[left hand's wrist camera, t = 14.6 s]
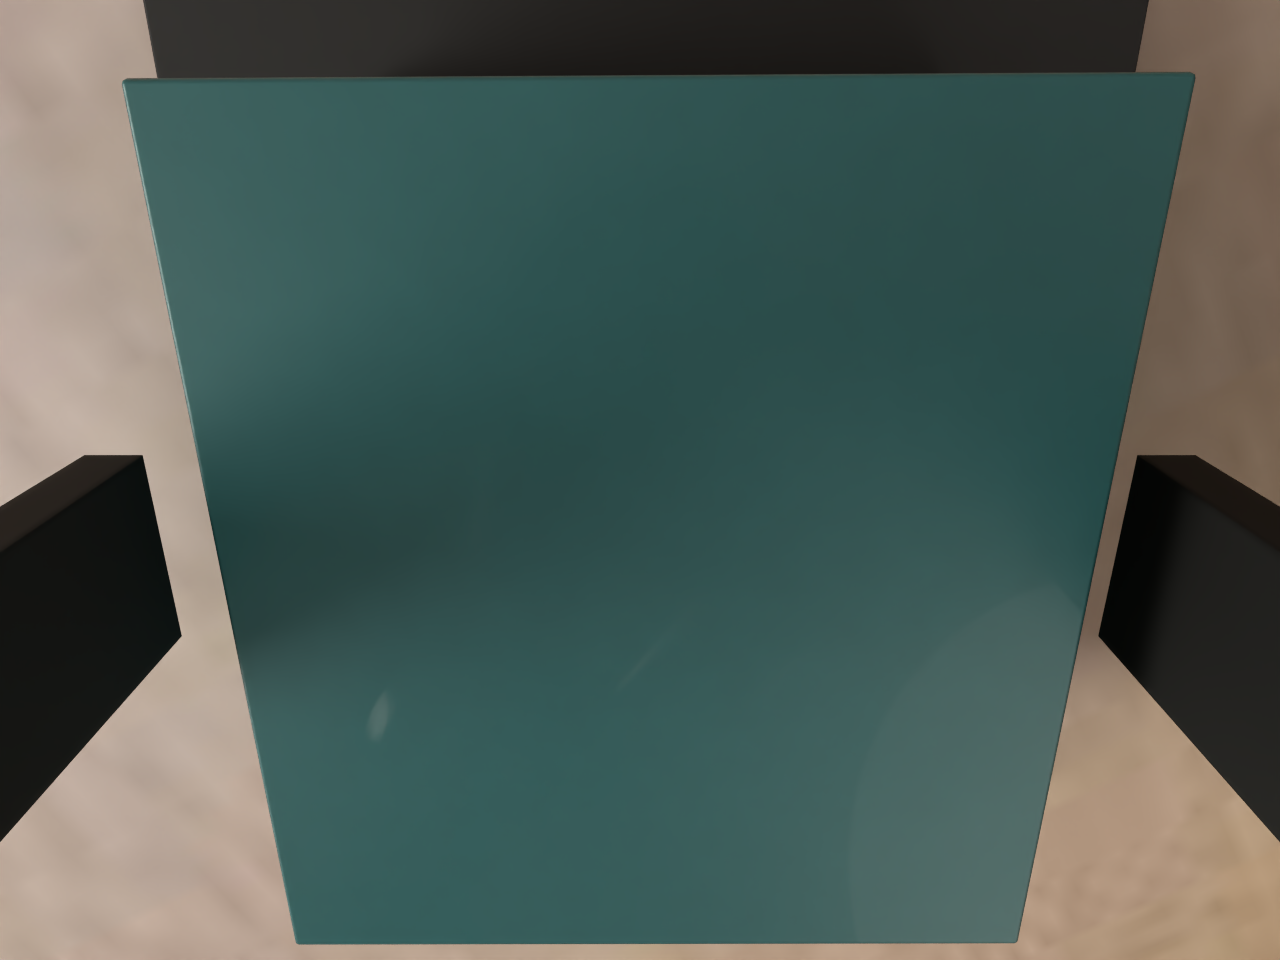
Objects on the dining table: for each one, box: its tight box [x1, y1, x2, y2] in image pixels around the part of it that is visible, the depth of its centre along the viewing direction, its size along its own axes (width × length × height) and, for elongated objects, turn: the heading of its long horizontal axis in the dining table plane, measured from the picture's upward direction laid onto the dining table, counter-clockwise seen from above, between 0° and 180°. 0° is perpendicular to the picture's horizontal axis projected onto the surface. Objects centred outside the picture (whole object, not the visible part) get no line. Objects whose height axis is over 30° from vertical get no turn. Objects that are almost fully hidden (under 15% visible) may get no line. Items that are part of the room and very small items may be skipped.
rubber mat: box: [143, 0, 1149, 78], centre depth 15 cm, size 14×14×1 cm
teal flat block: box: [122, 72, 1195, 944], centre depth 13 cm, size 11×10×5 cm
